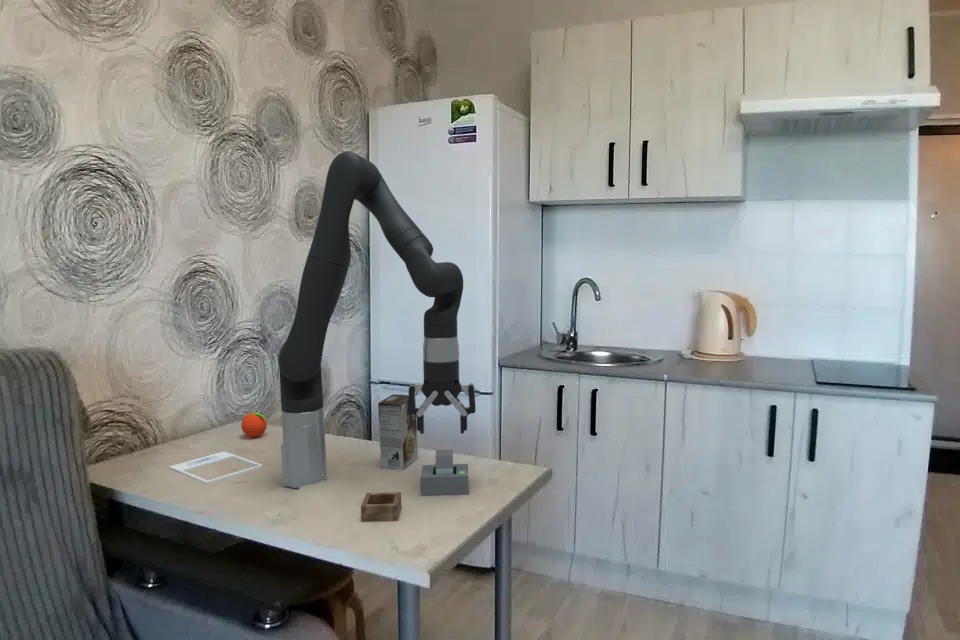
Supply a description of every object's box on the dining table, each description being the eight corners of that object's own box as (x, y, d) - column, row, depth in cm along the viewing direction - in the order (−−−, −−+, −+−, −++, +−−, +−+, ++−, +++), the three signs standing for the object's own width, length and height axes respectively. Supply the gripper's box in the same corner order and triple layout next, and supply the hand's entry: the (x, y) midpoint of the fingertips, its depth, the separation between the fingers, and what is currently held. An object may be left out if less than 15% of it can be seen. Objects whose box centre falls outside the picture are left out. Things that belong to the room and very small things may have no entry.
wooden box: (361, 526, 133) (360, 506, 133) (367, 512, 140) (366, 493, 140) (398, 525, 133) (397, 505, 133) (401, 511, 140) (400, 492, 140)
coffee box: (395, 456, 176) (392, 393, 174) (418, 457, 174) (416, 394, 172) (379, 467, 167) (376, 402, 165) (404, 469, 165) (401, 403, 163)
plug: (436, 491, 148) (435, 455, 147) (437, 485, 151) (436, 450, 150) (453, 491, 148) (452, 454, 147) (453, 485, 152) (452, 449, 151)
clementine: (275, 434, 198) (274, 410, 197) (260, 441, 191) (258, 416, 190) (252, 432, 200) (251, 408, 200) (236, 439, 194) (234, 414, 193)
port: (420, 500, 146) (420, 475, 145) (423, 486, 154) (422, 463, 153) (468, 499, 146) (467, 474, 145) (468, 485, 154) (467, 461, 153)
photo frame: (224, 450, 181) (262, 464, 170) (224, 454, 181) (263, 468, 170) (168, 465, 170) (206, 481, 159) (169, 470, 170) (206, 485, 159)
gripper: (405, 361, 142) (407, 438, 144) (474, 360, 142) (475, 437, 144) (409, 355, 150) (410, 428, 152) (475, 354, 150) (475, 427, 152)
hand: (442, 432), depth 148 cm, fingers open, 8 cm apart
